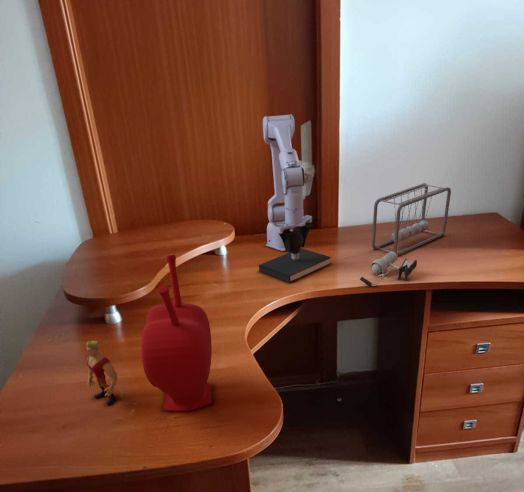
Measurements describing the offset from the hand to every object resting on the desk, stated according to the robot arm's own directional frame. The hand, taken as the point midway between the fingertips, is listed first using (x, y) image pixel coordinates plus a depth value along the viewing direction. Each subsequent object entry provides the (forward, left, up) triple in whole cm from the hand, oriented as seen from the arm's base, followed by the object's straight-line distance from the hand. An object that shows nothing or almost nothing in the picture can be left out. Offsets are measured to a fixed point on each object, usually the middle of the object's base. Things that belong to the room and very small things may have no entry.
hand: (294, 249), depth 166 cm
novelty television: (+31, -67, -7) cm, 74 cm away
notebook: (0, 0, -7) cm, 7 cm away
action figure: (+18, -80, -7) cm, 82 cm away
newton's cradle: (+16, +43, -7) cm, 46 cm away
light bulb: (0, 0, -4) cm, 4 cm away
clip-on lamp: (+28, +12, -7) cm, 31 cm away
